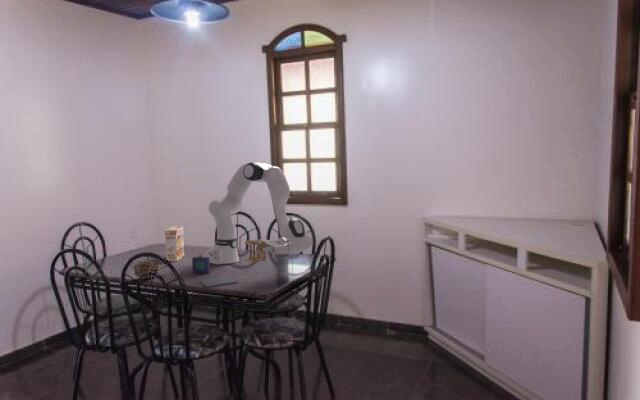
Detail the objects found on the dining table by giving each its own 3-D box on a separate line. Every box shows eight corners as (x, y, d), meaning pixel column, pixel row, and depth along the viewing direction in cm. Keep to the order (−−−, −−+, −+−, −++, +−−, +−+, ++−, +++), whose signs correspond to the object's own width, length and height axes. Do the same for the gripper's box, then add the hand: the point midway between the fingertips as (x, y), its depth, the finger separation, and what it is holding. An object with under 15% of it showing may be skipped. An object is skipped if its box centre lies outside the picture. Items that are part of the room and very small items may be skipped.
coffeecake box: (177, 261, 282) (176, 230, 280) (165, 261, 282) (164, 230, 280) (184, 256, 297) (183, 226, 295) (173, 256, 297) (172, 226, 295)
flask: (210, 272, 257) (209, 253, 256) (209, 273, 255) (208, 254, 253) (193, 272, 257) (192, 253, 255) (192, 274, 254) (191, 254, 253)
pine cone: (141, 283, 236) (140, 264, 235) (129, 280, 241) (128, 262, 240) (175, 273, 255) (175, 255, 254) (164, 271, 260) (163, 253, 259)
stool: (261, 258, 241) (260, 239, 240) (265, 260, 237) (265, 241, 236) (244, 260, 237) (244, 241, 236) (249, 262, 232) (248, 243, 231)
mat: (229, 277, 246) (229, 276, 246) (237, 282, 236) (237, 281, 236) (199, 282, 237) (199, 280, 237) (206, 287, 228) (206, 286, 228)
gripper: (275, 236, 253) (251, 238, 246) (293, 242, 236) (268, 245, 228) (275, 247, 254) (251, 250, 247) (293, 255, 236) (268, 258, 229)
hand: (259, 248), depth 237 cm, fingers closed on stool, 5 cm apart
